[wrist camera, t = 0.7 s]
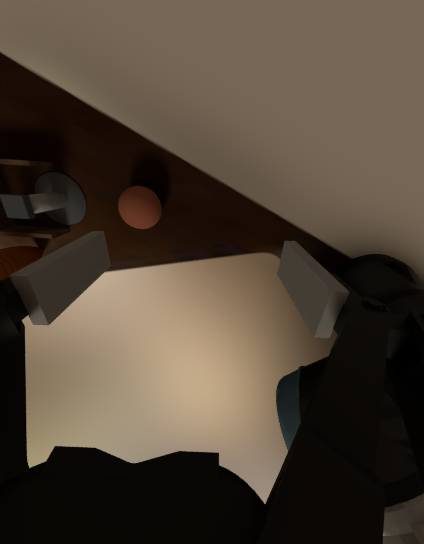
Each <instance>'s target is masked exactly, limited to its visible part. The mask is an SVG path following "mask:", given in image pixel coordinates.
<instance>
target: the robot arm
mask: <svg viewBox="0 0 424 544" xmlns="http://www.w3.org/2000/svg"><path fill="white" fill-rule="evenodd" d="M110 266H111V264H110V259H109V254H108V250H107V245H106V240H105V235H104V231H92V232H90V233H88V234H86V235H84V236H83V237H81V238H79V239H77V240H75V241H73V242H71V243H69V244H67V245H66V246H64V247H62V248H60V249H58V250H56V251H54V252H52V253H51V254H49V255H47V256H45V257H43V258H41V259H39V260H37V261H35V262H34V263H32V264H30V265H28V266H26V267H24V268H22V269H20V270H18V271H17V272H15V273H13V274H11V275H9V276H10V277H8V278H6V279H4V280H2V281H1V279H0V544H424V283H423V282H422V281H421V280H420V278H419V277H418V276H417V275H416V274H415V272H414V271H413V270H412V269H411V268H410V267H409V266H408V265H406V264H405V263H403V262H401V261H399V260H397V259H395V258H393V257H390V256H387V255H381V254H370V255H364V256H360V257H357V258H354V259H352V260H350V261H348V262H346V263H344V264H342V265H341V266H339V267H338V268H337V269H336V270H335V271H333V272H332V273H331V272H328V271H327V270H326V269H324V268H323V267H322V266H321V265H320V264H319V263H318V262H317V261H316V260H315V259H314V258H313V257H312V256H311V255H310V254H308V253H307V252H306V251H305V250H304V249H303V248H302V247H301V246H300V245H299V244H298V243H297V242H296V241H285V243H284V247H283V252H282V256H281V260H280V265H279V269H278V273H277V274H278V276H279V277H280V279H281V281H282V283H283V285H284V286H285V288H286V290H287V292H288V293H289V295H290V297H291V299H292V300H293V302H294V304H295V305H296V307H297V309H298V311H299V313H300V314H301V316H302V318H303V320H304V321H305V323H306V325H307V326H308V328H309V330H310V332H311V333H312V335H313V337H314V338H329V337H330V335H331V333H332V331H333V329H334V330H335V332H336V333H337V334H338V336H337V338H336V340H335V343H334V345H333V347H332V349H331V351H330V354H329V356H328V357H325V358H323V359H321V360H318V361H316V362H314V363H312V364H310V365H307V366H300V367H299V368H298V370H296V371H294V372H292V373H290V374H288V375H286V376H284V377H283V378H282V379H281V380H280V381H279V383H278V386H277V390H276V405H277V413H278V418H279V422H280V427H281V431H282V434H283V438H284V440H285V444H286V446H287V449H288V454H287V456H286V458H285V461H284V463H283V465H282V468H281V470H280V472H279V475H278V477H277V479H276V481H275V483H274V486H273V488H272V490H271V492H270V495H269V497H268V499H267V502H266V504H264V503H263V501H262V500H261V499H260V497H259V496H258V495H257V494H256V492H255V491H254V490H253V489H252V488H251V487H250V486H249V485H248V484H247V483H246V482H245V481H244V480H243V479H241V478H240V477H239V476H237V475H236V474H235V473H233V472H231V471H230V470H228V469H226V468H224V467H221V466H219V453H211V452H210V453H208V452H186V451H178V452H174V453H171V454H167V455H164V456H160V457H157V458H153V459H150V460H146V461H143V462H139V463H129V462H126V461H124V460H122V459H120V458H118V457H115V456H113V455H111V454H108V453H106V452H104V451H102V450H99V449H97V448H87V447H63V446H55V447H54V449H53V451H52V452H51V454H50V456H49V458H48V459H47V461H46V462H44V463H41V464H38V465H36V466H33V467H31V468H29V466H28V462H27V441H26V440H27V439H26V375H25V326H24V324H23V322H22V319H24V318H25V317H26V316H27V315H29V317H30V319H31V321H32V323H33V324H34V325H49V324H51V322H53V321H54V320H55V319H56V318H57V317H58V316H59V315H60V314H61V313H62V312H63V311H64V310H65V309H66V308H67V307H68V306H69V305H70V304H71V303H72V302H73V301H75V300H76V299H77V298H78V297H79V296H80V295H81V294H82V293H83V292H84V291H85V290H86V289H87V288H88V287H89V286H90V285H91V284H92V283H93V282H94V281H96V280H97V279H98V278H99V277H100V276H101V275H102V274H103V273H104V272H105V271H106V270H107V269H108V268H109V267H110Z"/></svg>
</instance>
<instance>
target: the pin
mask: <svg viewBox="0 0 424 544" xmlns="http://www.w3.org/2000/svg"><path fill="white" fill-rule="evenodd" d="M0 198H1V201H2V204H3V206H4V209H5V211H6V214H7V217H8V218H20V219H32V218H36V216H35V213H40V212H45V211H50V210H54V209H59V208H64V207H66V206H67V205H68V199H67V197H66V195H65V194H63V193H62V192H51V193H41V194H32V195H20V194H0Z"/></svg>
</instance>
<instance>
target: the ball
mask: <svg viewBox="0 0 424 544" xmlns="http://www.w3.org/2000/svg"><path fill="white" fill-rule="evenodd" d="M118 207H119V212H120V215H121V217H122V218H123V219H124V221H125V222H126V223H128V224H129V225H130V226H132V227H135V228H138V229H146V228H150V227H152V226H154V225H155V224H156V223H157V222H158V221H159V219H160V217H161V213H162V206H161V202H160V200H159V198H158V197H157V195H156V194H155V193H154V192H153V191H152V190H150V189H148V188H146V187H143V186H133V187H130V188H128V189H126V190H125V191H124V192H123V193H122V195H121V196H120V199H119V203H118Z"/></svg>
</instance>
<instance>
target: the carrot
mask: <svg viewBox="0 0 424 544" xmlns="http://www.w3.org/2000/svg"><path fill="white" fill-rule="evenodd" d="M43 253H44V251H43V249H42V248H39V247H31V246H18V247H10V248H4V249H0V279H1V281H2V280H4V279H6V278H8V277H10V276H9V275H11V274H13V273H15V272H17V271H18V270H20V269H22V268H24V267H26V266H28V265H30V264H32V263H34V262H35V261H37V260H39V259H40V258H41V257H42V255H43Z"/></svg>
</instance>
